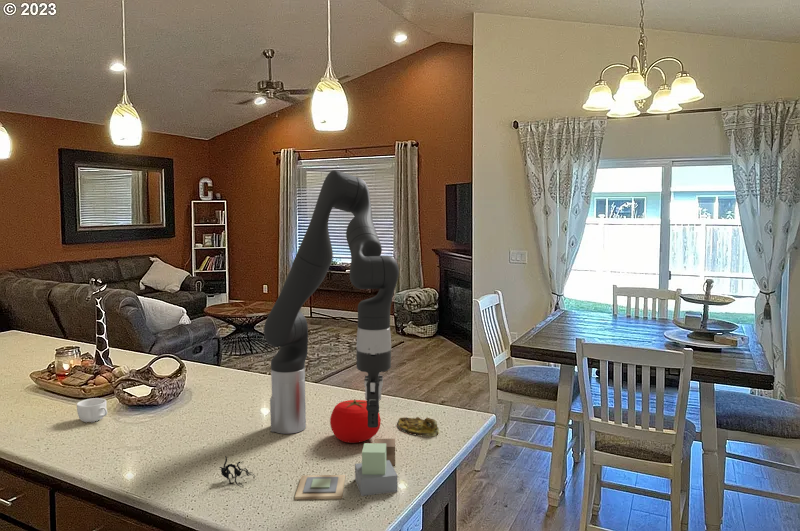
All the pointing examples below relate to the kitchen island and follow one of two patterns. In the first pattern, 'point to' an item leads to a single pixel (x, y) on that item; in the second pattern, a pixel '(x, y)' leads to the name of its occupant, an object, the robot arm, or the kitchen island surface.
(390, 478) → the grey base block
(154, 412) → the kitchen island surface
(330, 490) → the tile
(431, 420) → the stuffed eggplant half
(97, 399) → the teacup
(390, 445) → the walnut block
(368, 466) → the sage block
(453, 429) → the kitchen island surface
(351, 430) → the tomato
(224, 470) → the creature
